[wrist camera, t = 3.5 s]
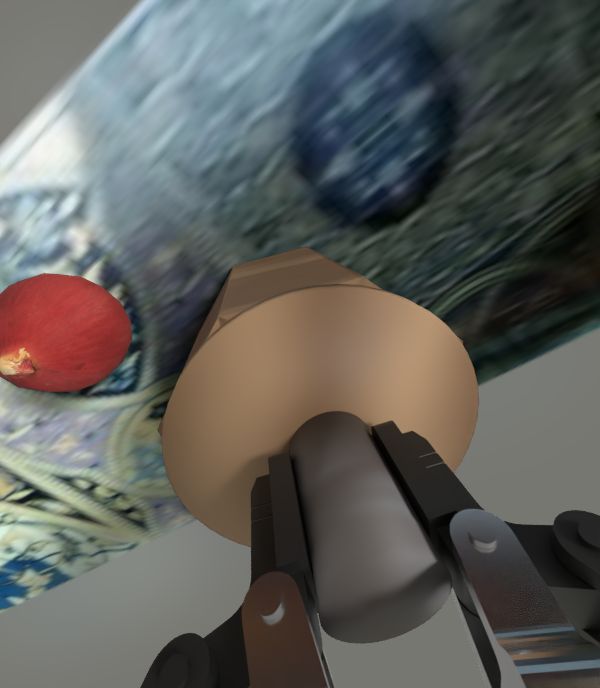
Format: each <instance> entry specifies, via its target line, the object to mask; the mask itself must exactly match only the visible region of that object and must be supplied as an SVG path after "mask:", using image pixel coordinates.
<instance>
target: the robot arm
mask: <svg viewBox="0 0 600 688" xmlns="http://www.w3.org/2000/svg"><path fill="white" fill-rule="evenodd" d="M371 431H372V436H373V438H374V440H375V441H376V443H377V445H378V447H379V448H380V450H381V452H382V454H383V456H384V457H385V459H386V461H387V463H388V464H389V466H390V468H391V470H392V471H393V473H394V475H395V477H396V479H397V480H398V482H399V484H400V486H401V487H402V489H403V491H404V493H405V495H406V496H407V498H408V500H409V502H410V503H411V505H412V507H413V509H414V510H415V512H416V514H417V516H418V518H419V519H420V521H421V523H422V525H423V526H424V528H425V530H426V532H427V534H428V535H429V537H430V539H431V540H432V542H433V544H434V546H435V548H436V549H437V551H438V553H439V555H440V556H441V558H442V560H443V562H444V564H445V565H446V567H447V569H448V571H449V572H450V575H451V578H452V587H453V596H454V600H455V603H456V606H457V608H458V611H459V613H460V616H461V619H462V621H463V624H464V627H465V629H466V632H467V635H468V638H469V640H470V643H471V645H472V648H473V651H474V654H475V656H476V659H477V661H478V664H479V667H480V670H481V672H482V675H483V677H484V680H485V683H486V685H487V688H600V516H599V515H596V514H593V513H589V512H585V511H579V510H578V511H577V510H572V511H566V512H563V513H561V514H559V515H558V516H557V517H556V519H555V521H554V525H522V524H513V523H509V522H506V521H503V520H502V519H500V518H499V517H497V516H495V515H494V514H492V513H490V512H487V511H485V510H484V509H482V508H481V507H480V505H479V504H478V503H477V502H476V501H475V500H474V498H473V497H472V496H471V495H470V493H469V492H468V491H467V490H466V488H465V487H464V486H463V484H462V483H461V482H460V481H459V479H458V478H457V477H456V476H455V474H454V473H453V472H452V471H451V469H450V468H449V467H448V466H447V464H445V463H444V461H443V459H442V458H441V457H440V456H439V454H438V453H436V451H435V449H434V448H433V447H432V446H431V444H430V443H429V442H428V441H427V439H425V438H424V437H422V436H420V435H419V434H417V433H416V432H414V431H409V432H406V433H403V434H402V432H401V431H400V430H399V428H398V427H397V425H396V424H395V423H394V421H392V420H391V421H387V422H384V423H381V424H377V425H374V426H372V427H371ZM268 466H269V474H267V475H264V476H261V477H257V478H256V481H255V483H254V485H253V488H252V490H251V583H250V587H249V590H248V592H247V594H246V596H245V598H244V601H243V603H242V605H241V606H240V608H239V609H238V610H237V612H236V613H235V614H234V615H233V616H232V617H231V618H229V619H228V620H227V621H226V622H224V623H223V624H222V625H220V626H219V627H218V628H216V629H215V630H214V631H213V632H212V633H210V634H209V635H207V636H206V637H205V638H202V637H200V636H199V635H197V634H193V633H187V634H183V635H180V636H178V637H176V638H174V639H173V640H172V641H170V642H169V643H168V644H167V645H166V646H165V647H164V648H163V649H162V651H161V652H160V653H159V654H158V656H157V657H156V659H155V660H154V662H153V664H152V665H151V667H150V669H149V671H148V673H147V675H146V678H145V680H144V682H143V684H142V685H141V688H336V687H335V684H334V681H333V678H332V675H331V672H330V668H329V666H328V662H327V659H326V656H325V653H324V650H323V647H322V638H321V632H320V627H319V621H318V615H317V613H318V607H317V602H316V596H315V590H314V585H313V573H312V568H311V562H310V557H309V551H308V546H307V540H306V535H305V529H304V523H303V518H302V512H301V507H300V501H299V496H298V490H297V484H296V479H295V473H294V468H293V462H292V458H291V455H290V452H289V451H287V452H284V453H281V454H277V455H274V456H271V457H268Z"/></svg>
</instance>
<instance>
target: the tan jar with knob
mask: <svg viewBox="0 0 600 688" xmlns="http://www.w3.org/2000/svg"><path fill="white" fill-rule="evenodd" d="M478 397H479V396H478V384H477V379H476V375H475V371H474V367H473V365H472V362H471V360H470V358H469V355H468V353H467V351H466V350H465V348H464V346H463V341H462V340H461V339H459V338H458V337H457V336H456V335H455V334H454V333H453V332H452V331H451V329H450V328H449V327H448V326H447V325H446V324H445V323H444V322H442V321H441V320H440V319H439V318H437V317H436V316H435V315H434V314H432V313H431V312H430V311H428V310H426V309H424V308H422V307H421V306H419V305H417V304H415V303H413V302H411V301H409V300H408V299H406V298H404V297H402V296H399V295H396V294H393V293H391V292H388V291H385V290H382V289H381V288H379V287H378V286H376V285H375V284H373V283H372V282H370V281H368V280H367V279H365V278H364V277H363V276H362V275H360V274H358V273H356V272H354V271H352V270H350V269H348V268H346V267H344V266H343V265H341V264H339V263H337V262H335V261H333V260H331V259H329V258H327V257H325V256H324V255H322V254H320V253H318V252H316V251H314V250H312V249H310V248H308V247H306V246H305V247H303V248H299V249H295V250H291V251H288V252H284V253H280V254H277V255H273V256H269V257H265V258H262V259H258V260H254V261H251V262H247V263H243V264H239V265H236V266H233V268H232V270H231V272H230V274H229V276H228V278H227V280H226V281H225V283H224V285H223V287H222V289H221V291H220V293H219V295H218V297H217V299H216V301H215V303H214V304H213V306H212V308H211V310H210V312H209V314H208V316H207V318H206V320H205V322H204V324H203V326H202V327H201V329H200V331H199V333H198V336H197V338H196V340H195V343H194V345H193V348H192V350H191V352H190V355H189V357H188V359H187V362H186V364H185V366H184V369H183V371H182V373H181V374H180V377H179V379H178V381H177V384H176V386H175V388H174V391H173V393H172V395H171V398H170V400H169V402H168V405H167V409H166V411H165V413H164V416H163V418H162V420H161V423H160V425H159V428H158V431H159V433H160V435H161V437H162V452H163V461H164V465H165V468H166V472H167V475H168V478H169V480H170V483H171V485H172V487H173V489H174V491H175V493H176V494H177V496H178V497H179V499H180V500H181V502H182V503H183V505H184V506H185V507H186V508H187V509H188V510H189V511H190V512H191V513H192V514H193V516H194V517H195V518H196V519H198V520H199V521H200V522H202V523H203V524H204V525H206V526H207V527H208V528H209V529H211V530H213V531H214V532H216V533H218V534H220V535H221V536H223V537H225V538H227V539H229V540H232V541H234V542H237V543H239V544H242V545H245V546H249V547H251V490H252V488H253V485H254V483H255V481H256V478H257V477H261V476H264V475H267V474H269V466H268V457H271V456H274V455H277V454H281V453H284V452H287V451H289V452H290V455H291V458H292V462H293V468H294V473H295V479H296V484H297V490H298V496H299V501H300V507H301V512H302V518H303V523H304V529H305V535H306V540H307V546H308V551H309V557H310V562H311V568H312V573H313V585H314V590H315V596H316V602H317V607H318V613H319V619H320V623H321V626H322V628H323V630H324V631H325V632H326V633H327V634H328V635H330V636H331V637H333V638H335V639H337V640H340V641H344V642H348V643H373V642H379V641H383V640H387V639H390V638H394V637H397V636H399V635H402V634H405V633H407V632H409V631H411V630H413V629H415V628H417V627H418V626H420V625H421V624H423V623H425V622H426V621H427V620H429V619H430V618H431V617H432V616H433V615H435V614H436V613H437V612H438V611H439V610H440V609H441V607H442V606H443V605H444V604H445V602H446V600H447V599H448V597H449V594H450V592H451V589H452V578H451V575H450V572H449V571H448V569H447V567H446V565H445V564H444V562H443V560H442V558H441V556H440V555H439V553H438V551H437V549H436V548H435V546H434V544H433V542H432V540H431V539H430V537H429V535H428V534H427V532H426V530H425V528H424V526H423V525H422V523H421V521H420V519H419V518H418V516H417V514H416V512H415V510H414V509H413V507H412V505H411V503H410V502H409V500H408V498H407V496H406V495H405V493H404V491H403V489H402V487H401V486H400V484H399V482H398V480H397V479H396V477H395V475H394V473H393V471H392V470H391V468H390V466H389V464H388V463H387V461H386V459H385V457H384V456H383V454H382V452H381V450H380V448H379V447H378V445H377V443H376V441H375V440H374V438H373V436H372V431H371V427H372V426H374V425H377V424H381V423H384V422H387V421H391V420H392V421H394V423H395V424H396V425H397V427H398V428H399V430H400V431H401V432H402V434H403V433H406V432H409V431H414V432H416V433H417V434H419V435H420V436H422V437H424V438H425V439H427V441H428V442H429V443H430V444H431V446H432V447H433V448H434V449H435V451H436V453H438V454H439V456H440V457H441V458H442V459H443V461H444V463H445V464H447V466H448V467H449V468H450V469H451V471H452V472H453V473H454V472H455V471H456V469H457V468H458V466H459V465H460V463H461V461H462V459H463V457H464V455H465V454H466V451H467V449H468V448H469V445H470V442H471V439H472V437H473V434H474V430H475V426H476V421H477V416H478V404H479V398H478Z"/></svg>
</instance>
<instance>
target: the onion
mask: <svg viewBox="0 0 600 688" xmlns="http://www.w3.org/2000/svg"><path fill="white" fill-rule="evenodd" d="M131 340H132V332H131V321H130V319H129V317H128V316H127V314H126V312H125V310H124V308H123V307H122V305H121V303H120V302H119V301H118V300H117V299H116V298H115V297H113V296H112V295H111V294H110V293H109V292H107V291H106V290H105V289H104V288H103V287H101V286H99V285H97V284H95V283H93V282H91V281H88V280H86V279H84V278H82V277H78V276H69V275H60V274H46V273H44V274H40V275H37V276H34V277H31V278H28V279H25V280H22V281H19V282H17V283H15V284H12V285H10V286H8V287H7V288H6V289H5V290H4V291H3V292H2V293H1V294H0V377H2V378H4V379H5V380H7V381H9V382H10V383H12V384H14V385H16V386H17V387H20V388H26V389H32V390H38V391H47V392H72V391H78V390H80V389H83V388H86V387H88V386H91V385H94V384H96V383H98V382H100V381H102V380H104V379H105V378H106V377H107V376H108V375H109V374H110V373H111V372H112V371H113V370H115V369H116V368H117V367H118V366H119V365H120V364H121V363H122V362H123V360H124V358H125V356H126V353H127V351H128V348H129V345H130V343H131Z"/></svg>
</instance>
